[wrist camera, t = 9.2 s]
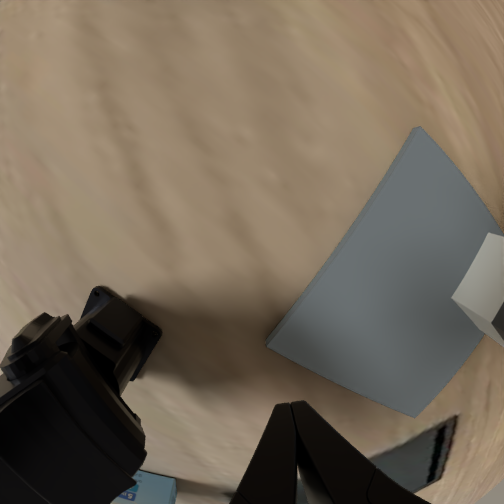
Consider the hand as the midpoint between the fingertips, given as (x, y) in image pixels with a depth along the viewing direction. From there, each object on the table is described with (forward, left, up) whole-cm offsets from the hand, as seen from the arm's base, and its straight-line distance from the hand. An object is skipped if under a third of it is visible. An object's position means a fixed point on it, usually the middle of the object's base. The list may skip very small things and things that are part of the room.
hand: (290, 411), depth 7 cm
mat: (+6, -13, -13) cm, 19 cm away
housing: (+11, -18, -13) cm, 25 cm away
